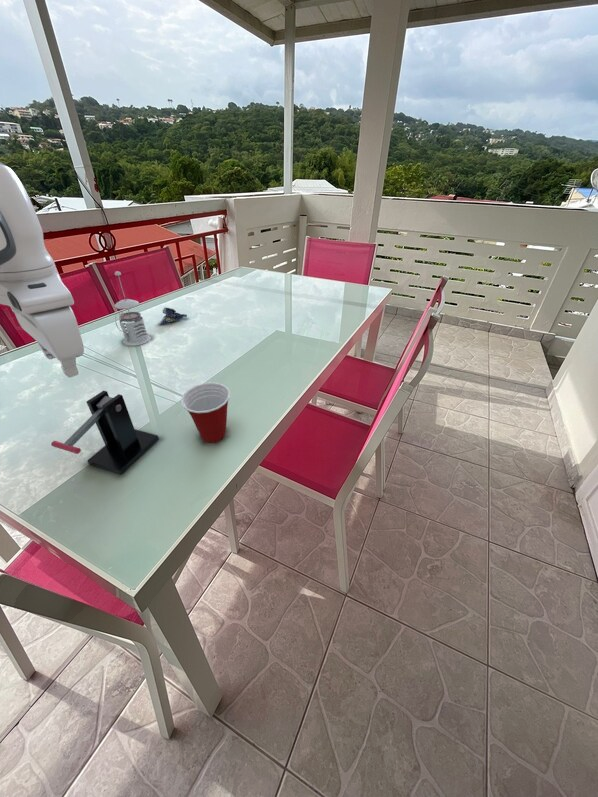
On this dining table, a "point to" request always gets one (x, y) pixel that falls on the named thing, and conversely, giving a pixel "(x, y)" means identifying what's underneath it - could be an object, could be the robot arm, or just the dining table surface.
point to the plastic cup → (208, 409)
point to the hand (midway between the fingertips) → (61, 365)
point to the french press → (131, 336)
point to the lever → (82, 429)
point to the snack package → (171, 315)
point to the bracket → (118, 436)
